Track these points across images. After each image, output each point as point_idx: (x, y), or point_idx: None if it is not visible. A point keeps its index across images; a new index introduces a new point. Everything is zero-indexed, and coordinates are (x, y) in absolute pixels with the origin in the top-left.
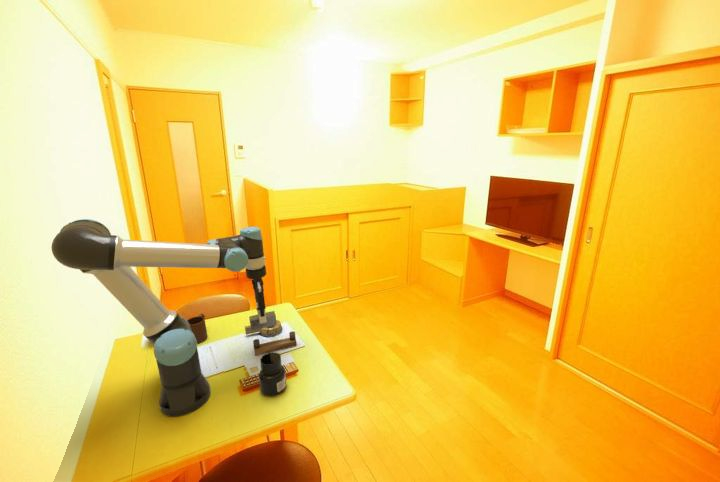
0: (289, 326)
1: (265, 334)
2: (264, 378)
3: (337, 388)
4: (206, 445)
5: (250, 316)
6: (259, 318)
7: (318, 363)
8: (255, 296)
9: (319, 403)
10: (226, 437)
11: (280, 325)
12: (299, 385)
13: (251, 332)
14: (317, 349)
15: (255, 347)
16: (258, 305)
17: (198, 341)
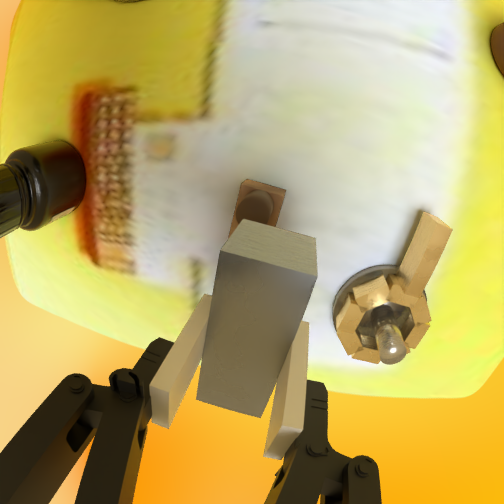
0: (351, 365)
1: (361, 280)
2: (5, 162)
3: (31, 291)
4: (17, 25)
5: (306, 285)
6: (188, 321)
7: (103, 317)
8: (348, 492)
9: (10, 242)
10: (10, 58)
11: (347, 353)
12: (49, 236)
13: (414, 238)
14: None
15: (246, 195)
16: (42, 409)
17: (493, 40)
